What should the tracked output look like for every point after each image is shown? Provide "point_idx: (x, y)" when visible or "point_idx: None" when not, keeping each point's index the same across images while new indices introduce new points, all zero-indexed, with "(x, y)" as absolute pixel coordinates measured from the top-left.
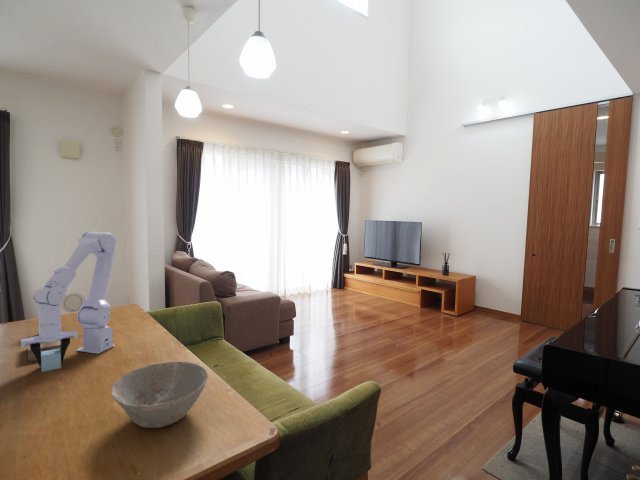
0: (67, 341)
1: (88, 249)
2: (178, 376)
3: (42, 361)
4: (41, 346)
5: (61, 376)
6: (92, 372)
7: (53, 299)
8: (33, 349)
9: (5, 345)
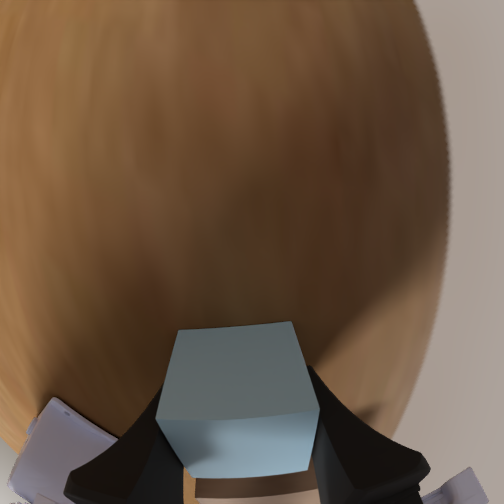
0: (77, 500)
1: None
2: None
3: (300, 375)
4: (294, 499)
5: (153, 166)
6: (7, 157)
7: None
8: (410, 464)
9: None
